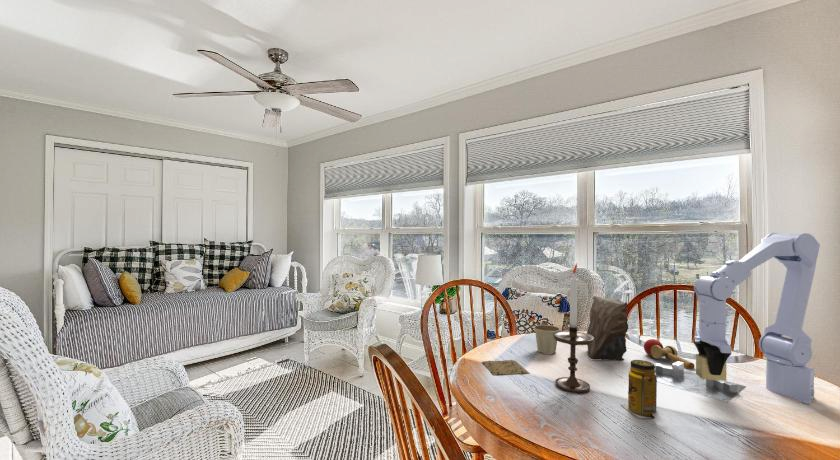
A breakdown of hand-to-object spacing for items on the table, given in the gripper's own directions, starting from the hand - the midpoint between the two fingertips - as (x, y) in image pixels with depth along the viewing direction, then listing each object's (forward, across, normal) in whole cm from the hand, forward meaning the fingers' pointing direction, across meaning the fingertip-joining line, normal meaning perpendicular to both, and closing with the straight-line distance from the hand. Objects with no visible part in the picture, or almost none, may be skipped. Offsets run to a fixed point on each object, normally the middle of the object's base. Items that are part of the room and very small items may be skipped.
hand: (711, 371), depth 105 cm
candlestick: (+6, +3, -36) cm, 36 cm away
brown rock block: (+7, -28, -21) cm, 36 cm away
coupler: (+2, 0, 0) cm, 2 cm away
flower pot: (+7, -28, -40) cm, 49 cm away
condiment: (+7, +14, -20) cm, 26 cm away
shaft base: (+6, -8, -2) cm, 10 cm away
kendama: (+7, -27, -1) cm, 28 cm away
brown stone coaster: (+7, -8, -54) cm, 55 cm away
